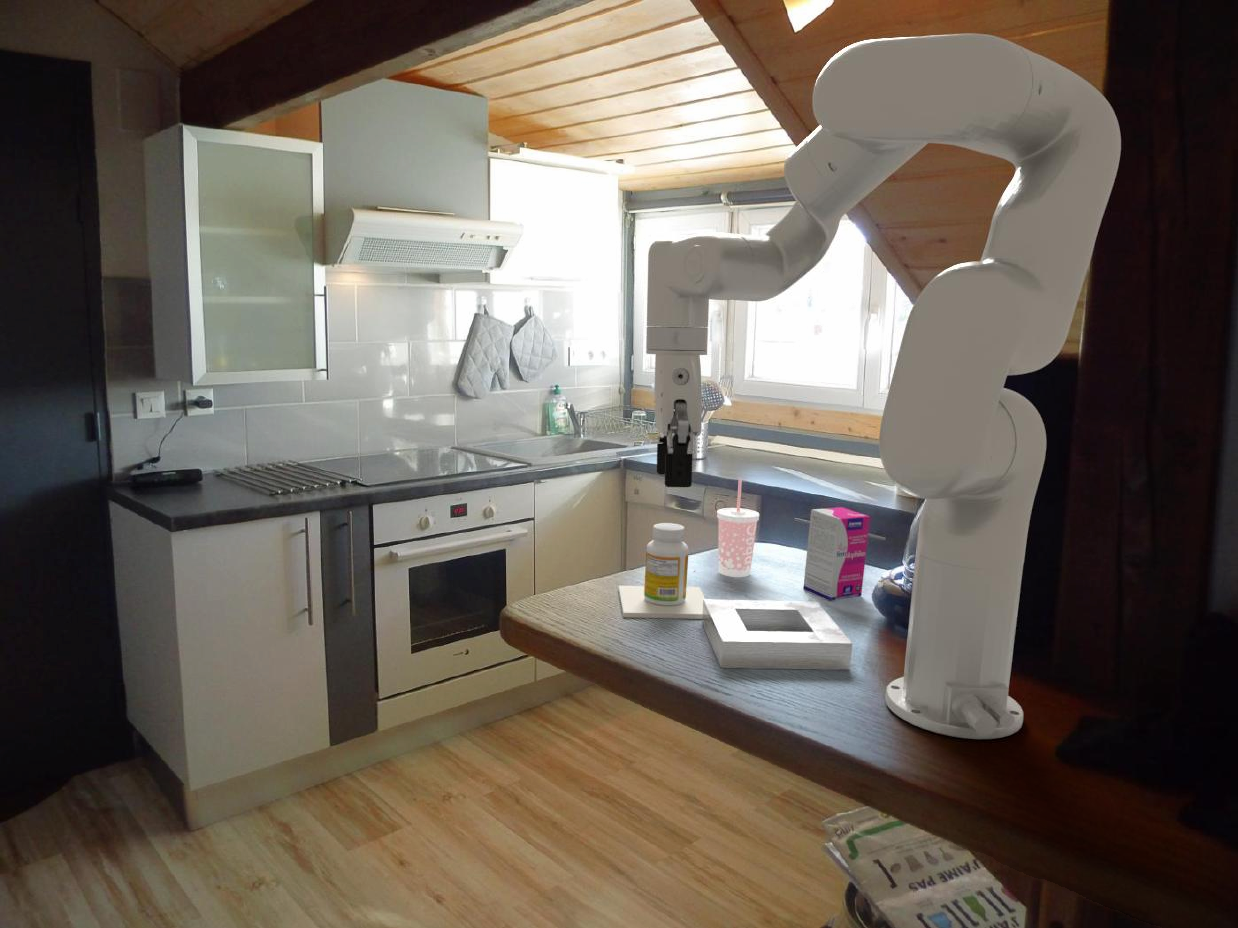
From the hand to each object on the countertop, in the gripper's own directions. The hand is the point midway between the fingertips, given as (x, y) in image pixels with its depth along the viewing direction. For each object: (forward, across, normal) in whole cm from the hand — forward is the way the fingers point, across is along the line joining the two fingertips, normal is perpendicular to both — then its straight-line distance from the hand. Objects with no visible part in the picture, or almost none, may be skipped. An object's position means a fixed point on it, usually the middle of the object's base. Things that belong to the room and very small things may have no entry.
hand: (673, 480), depth 114 cm
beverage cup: (+16, +16, -11) cm, 25 cm away
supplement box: (+17, +7, -23) cm, 30 cm away
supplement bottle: (+16, +1, +1) cm, 16 cm away
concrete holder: (+17, -13, -10) cm, 24 cm away
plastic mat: (+16, +1, +1) cm, 16 cm away
